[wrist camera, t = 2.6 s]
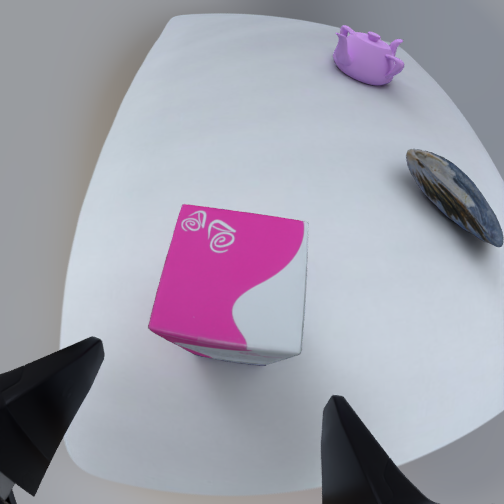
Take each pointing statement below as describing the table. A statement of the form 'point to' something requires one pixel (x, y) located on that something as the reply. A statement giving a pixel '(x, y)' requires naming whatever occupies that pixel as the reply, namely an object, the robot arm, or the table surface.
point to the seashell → (454, 195)
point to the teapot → (367, 57)
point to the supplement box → (234, 286)
